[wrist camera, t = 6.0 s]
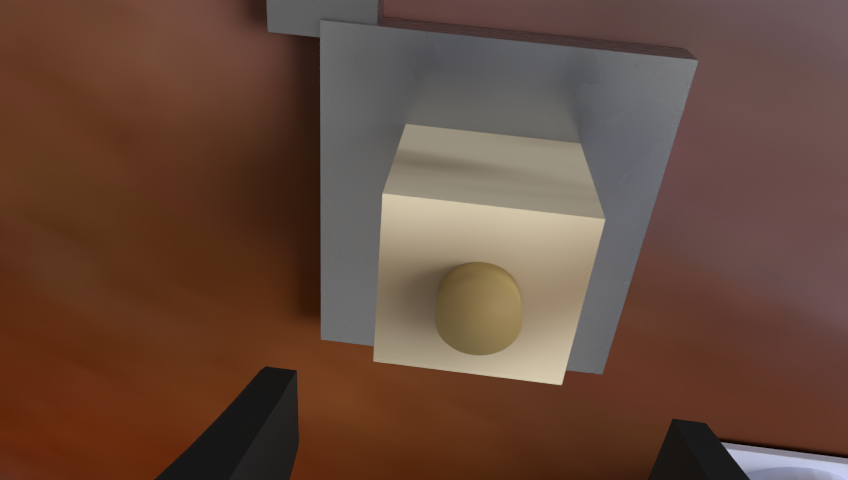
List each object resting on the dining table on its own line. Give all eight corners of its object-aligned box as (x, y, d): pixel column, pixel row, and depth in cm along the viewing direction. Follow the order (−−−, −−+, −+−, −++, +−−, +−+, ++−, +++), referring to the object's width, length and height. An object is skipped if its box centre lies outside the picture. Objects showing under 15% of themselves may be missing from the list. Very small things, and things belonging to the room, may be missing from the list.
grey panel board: (597, 351, 23) (634, 521, 17) (288, 313, 23) (219, 466, 17) (790, -309, 13) (1034, -453, 7) (264, -353, 14) (92, -524, 8)
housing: (548, 287, 20) (565, 413, 16) (395, 269, 21) (366, 387, 16) (580, 143, 18) (613, 241, 13) (405, 123, 18) (375, 214, 13)
